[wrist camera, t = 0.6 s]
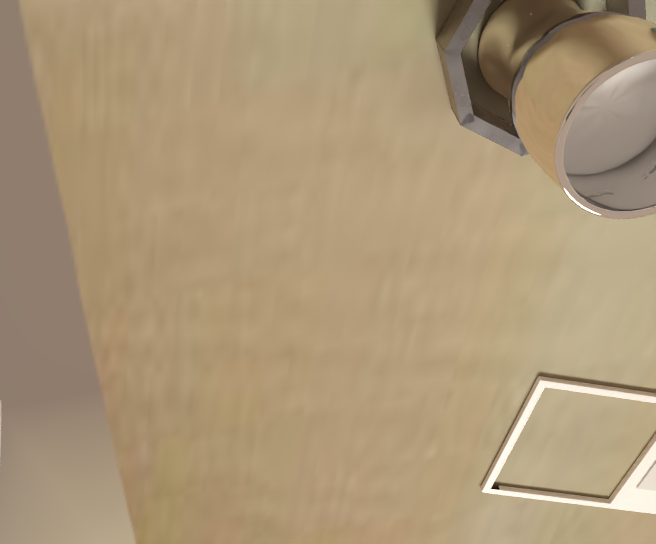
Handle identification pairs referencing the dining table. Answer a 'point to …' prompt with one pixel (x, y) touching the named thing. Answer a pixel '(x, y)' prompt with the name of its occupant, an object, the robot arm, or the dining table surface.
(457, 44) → the holder ring
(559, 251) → the dining table surface
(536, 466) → the dining table surface
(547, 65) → the silver metal tumbler
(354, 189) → the dining table surface
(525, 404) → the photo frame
